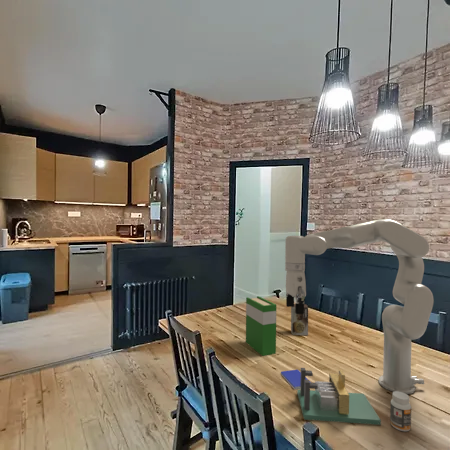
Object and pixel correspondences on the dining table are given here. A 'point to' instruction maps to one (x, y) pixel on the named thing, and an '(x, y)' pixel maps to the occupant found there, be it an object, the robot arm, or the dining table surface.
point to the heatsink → (327, 396)
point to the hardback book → (261, 325)
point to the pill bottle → (400, 411)
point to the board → (311, 411)
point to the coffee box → (299, 322)
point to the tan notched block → (341, 391)
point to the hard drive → (292, 378)
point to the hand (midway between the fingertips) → (294, 309)
